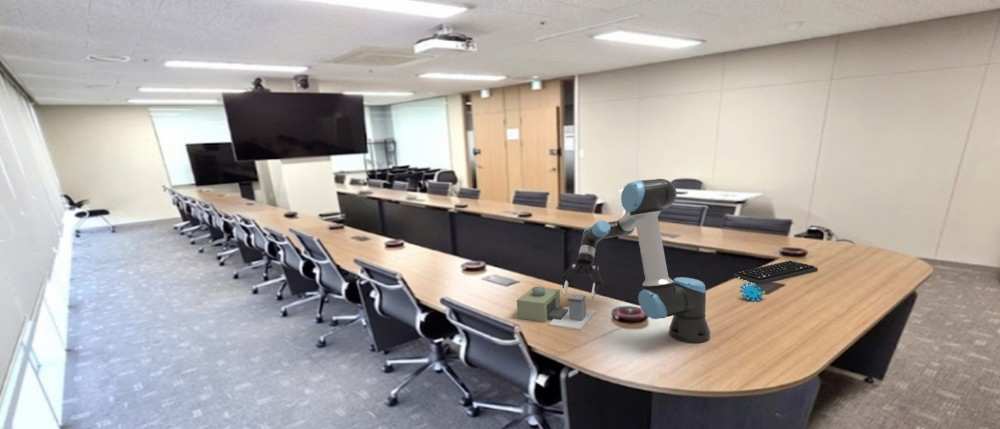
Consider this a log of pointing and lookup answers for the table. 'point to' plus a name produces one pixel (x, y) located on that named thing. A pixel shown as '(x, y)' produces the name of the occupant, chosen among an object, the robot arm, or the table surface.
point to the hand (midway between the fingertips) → (578, 295)
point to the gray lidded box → (577, 307)
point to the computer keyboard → (775, 272)
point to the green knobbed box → (548, 308)
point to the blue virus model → (751, 292)
